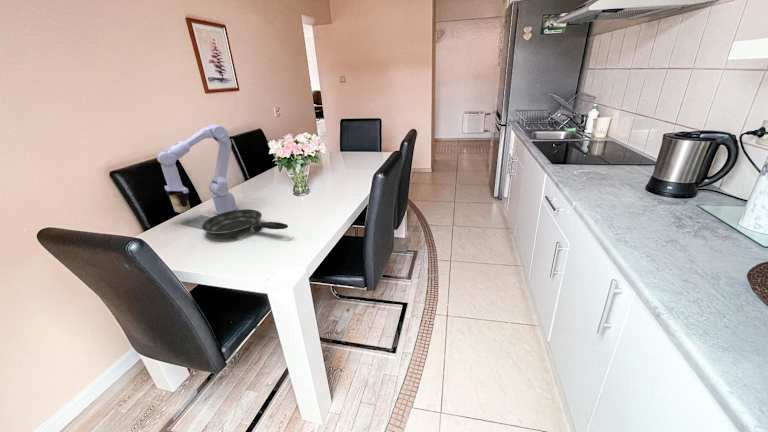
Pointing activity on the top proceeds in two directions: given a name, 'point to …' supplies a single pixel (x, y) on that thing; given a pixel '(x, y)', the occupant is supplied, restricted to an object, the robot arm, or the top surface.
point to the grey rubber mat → (196, 221)
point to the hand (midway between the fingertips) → (181, 205)
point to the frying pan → (237, 223)
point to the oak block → (178, 204)
